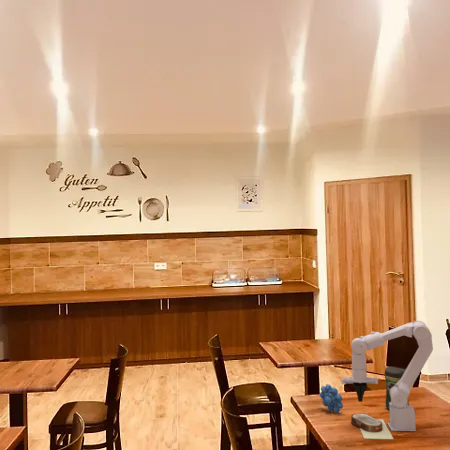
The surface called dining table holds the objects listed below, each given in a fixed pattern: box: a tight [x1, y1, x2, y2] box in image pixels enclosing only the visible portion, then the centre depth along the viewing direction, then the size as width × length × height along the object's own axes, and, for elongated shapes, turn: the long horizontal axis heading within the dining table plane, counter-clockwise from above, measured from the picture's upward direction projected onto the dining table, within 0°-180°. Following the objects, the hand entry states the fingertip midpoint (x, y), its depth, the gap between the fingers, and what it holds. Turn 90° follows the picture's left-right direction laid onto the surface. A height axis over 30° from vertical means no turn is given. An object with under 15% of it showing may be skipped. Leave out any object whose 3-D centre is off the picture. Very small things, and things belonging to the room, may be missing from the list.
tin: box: [350, 412, 383, 432], centre depth 201 cm, size 15×3×8 cm
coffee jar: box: [384, 366, 410, 411], centre depth 220 cm, size 10×8×19 cm
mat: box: [359, 418, 395, 441], centre depth 198 cm, size 11×20×1 cm, turn 174°
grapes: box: [319, 383, 344, 414], centre depth 218 cm, size 12×7×12 cm, turn 46°
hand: (360, 400), depth 203 cm, fingers closed
